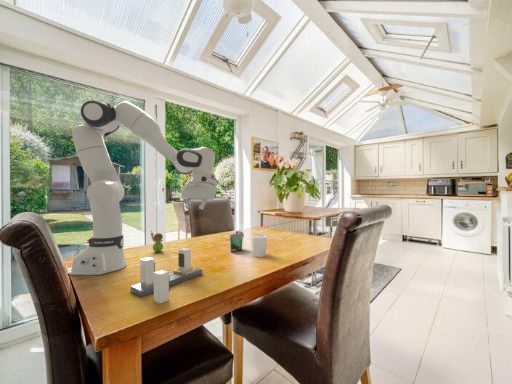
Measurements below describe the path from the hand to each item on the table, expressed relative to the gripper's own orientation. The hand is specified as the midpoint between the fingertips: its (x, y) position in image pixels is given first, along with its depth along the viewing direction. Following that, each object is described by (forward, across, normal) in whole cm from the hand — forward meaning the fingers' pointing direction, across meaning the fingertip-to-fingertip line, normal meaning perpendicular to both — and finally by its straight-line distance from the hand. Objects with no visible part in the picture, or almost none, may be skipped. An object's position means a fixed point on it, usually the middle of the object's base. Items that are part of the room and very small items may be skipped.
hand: (194, 208), depth 114 cm
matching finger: (+27, +11, -6) cm, 29 cm away
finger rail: (+31, +11, -12) cm, 35 cm away
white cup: (+16, +17, +36) cm, 43 cm away
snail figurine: (+25, -34, +9) cm, 43 cm away
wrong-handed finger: (+34, +22, -22) cm, 46 cm away
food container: (+16, +1, +37) cm, 40 cm away
